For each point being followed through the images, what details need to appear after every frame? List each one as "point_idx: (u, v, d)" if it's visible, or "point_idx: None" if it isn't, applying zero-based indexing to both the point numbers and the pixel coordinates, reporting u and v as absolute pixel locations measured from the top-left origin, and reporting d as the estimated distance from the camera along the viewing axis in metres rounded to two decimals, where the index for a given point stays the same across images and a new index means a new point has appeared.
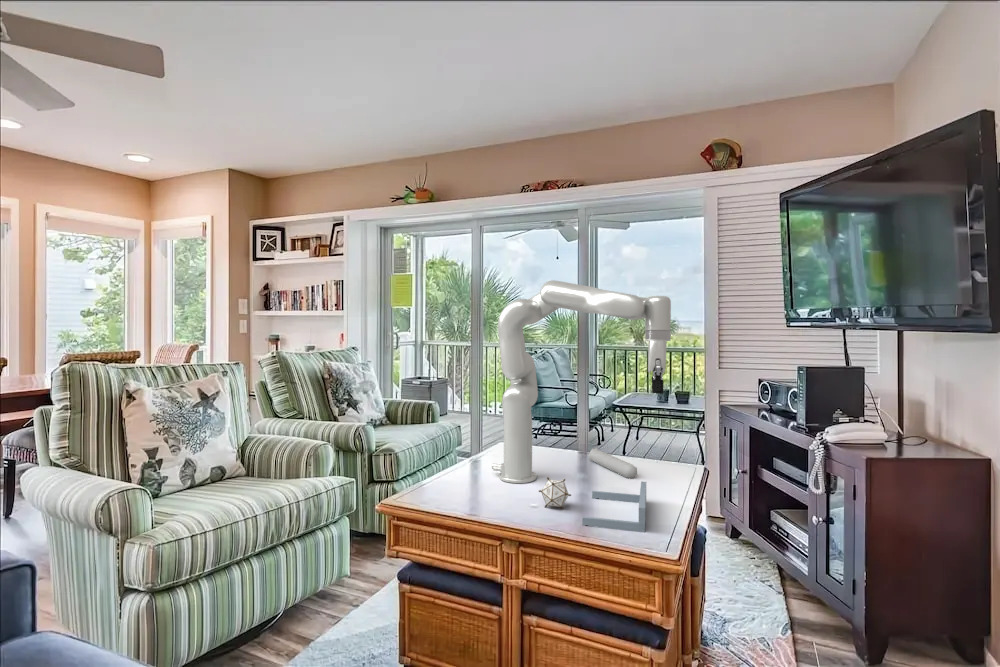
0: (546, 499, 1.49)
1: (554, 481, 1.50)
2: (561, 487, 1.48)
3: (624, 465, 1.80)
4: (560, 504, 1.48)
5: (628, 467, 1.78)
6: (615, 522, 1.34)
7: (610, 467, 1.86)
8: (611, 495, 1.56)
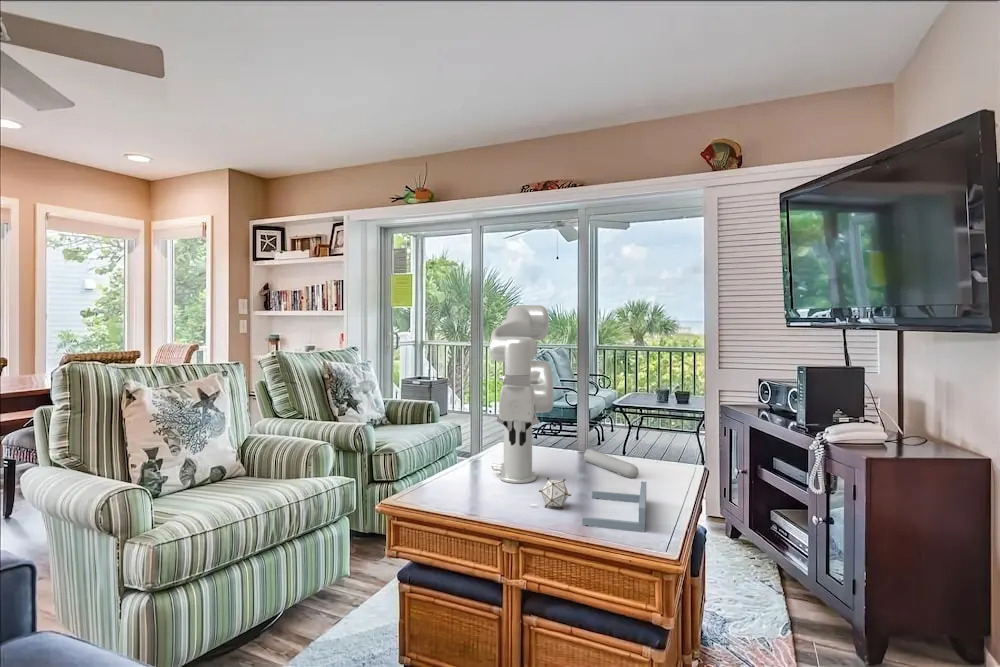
0: (546, 499, 1.49)
1: (554, 481, 1.50)
2: (561, 487, 1.48)
3: (625, 465, 1.80)
4: (560, 504, 1.48)
5: (630, 467, 1.78)
6: (615, 522, 1.34)
7: (609, 467, 1.86)
8: (611, 495, 1.56)
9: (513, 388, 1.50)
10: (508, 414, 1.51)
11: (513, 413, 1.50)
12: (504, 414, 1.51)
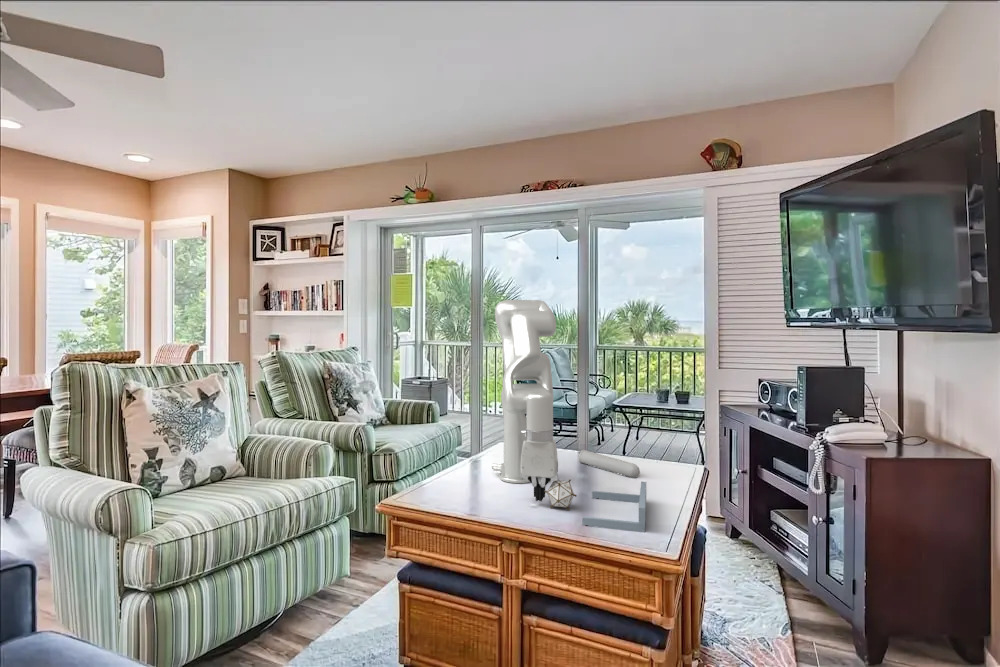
0: (552, 500, 1.48)
1: (560, 481, 1.50)
2: (567, 487, 1.48)
3: (627, 465, 1.80)
4: (566, 504, 1.47)
5: (632, 467, 1.78)
6: (615, 522, 1.34)
7: (609, 468, 1.85)
8: (611, 495, 1.56)
9: (535, 443, 1.49)
10: (530, 470, 1.49)
11: (535, 469, 1.49)
12: (526, 470, 1.49)
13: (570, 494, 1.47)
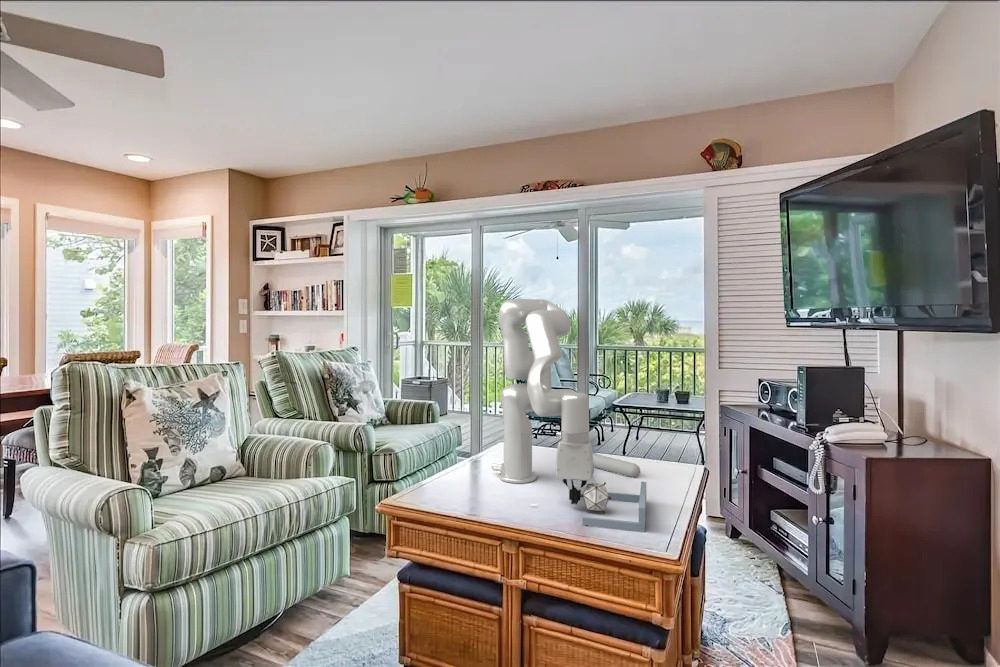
0: (588, 503, 1.45)
1: (595, 485, 1.47)
2: (603, 491, 1.45)
3: (627, 465, 1.80)
4: (602, 508, 1.44)
5: (633, 466, 1.78)
6: (615, 522, 1.34)
7: (608, 468, 1.85)
8: (611, 495, 1.56)
9: (571, 445, 1.46)
10: (566, 472, 1.46)
11: (571, 471, 1.46)
12: (561, 472, 1.46)
13: (607, 497, 1.44)
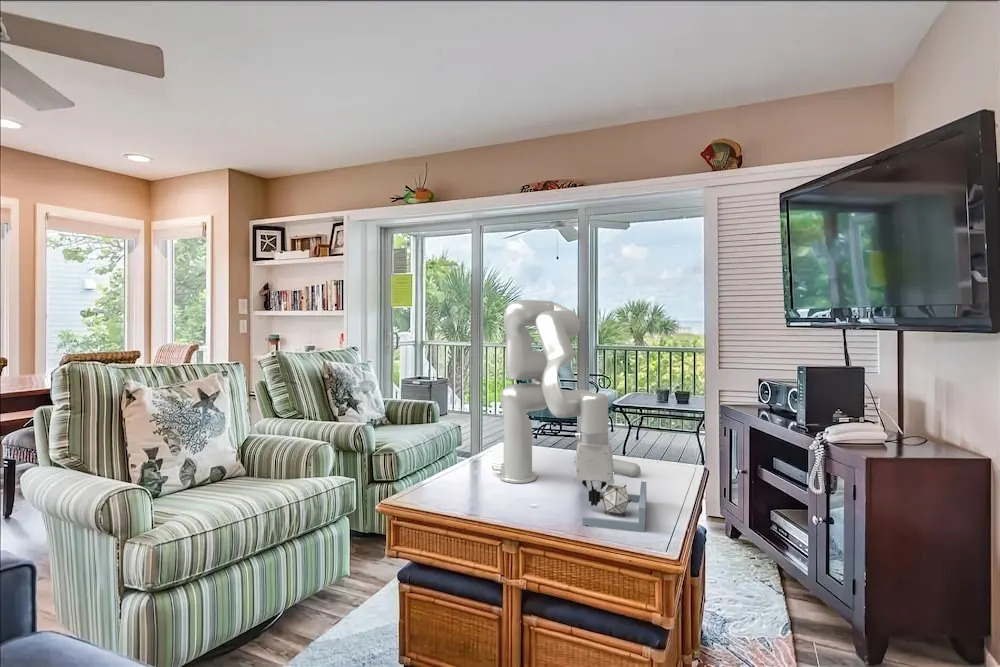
0: (607, 505, 1.43)
1: (615, 487, 1.45)
2: (624, 493, 1.43)
3: (628, 465, 1.80)
4: (622, 511, 1.42)
5: (634, 466, 1.79)
6: (615, 522, 1.34)
7: None
8: None
9: (590, 446, 1.44)
10: (585, 473, 1.44)
11: (591, 473, 1.44)
12: (581, 473, 1.45)
13: (627, 500, 1.42)
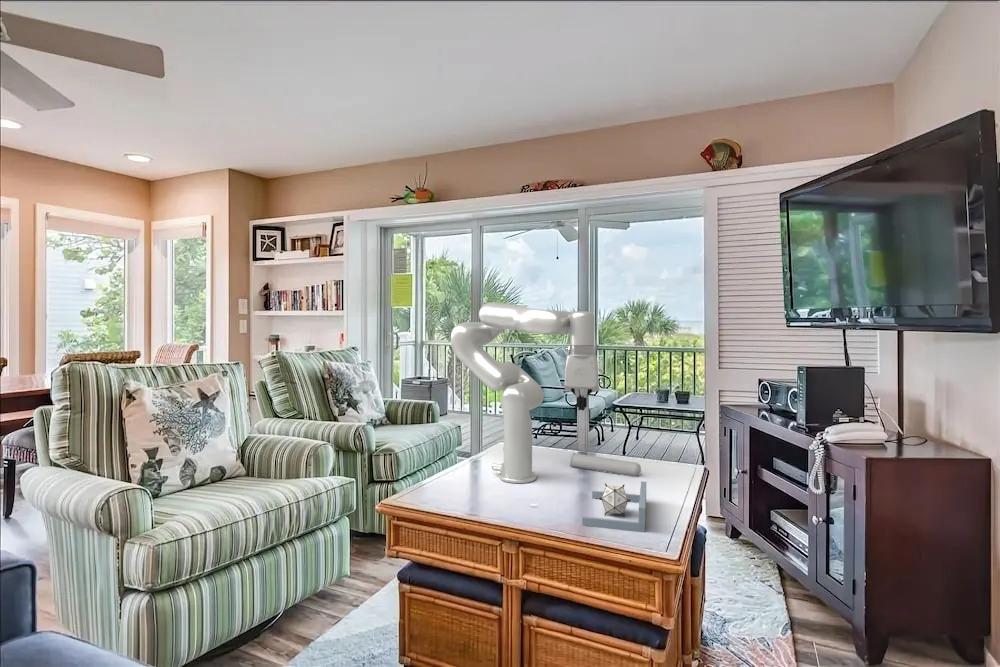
0: (607, 506, 1.43)
1: (614, 487, 1.45)
2: (622, 493, 1.43)
3: (630, 464, 1.81)
4: (622, 511, 1.42)
5: (636, 465, 1.80)
6: (615, 522, 1.34)
7: (608, 469, 1.84)
8: None
9: (578, 357, 1.63)
10: (574, 381, 1.63)
11: (578, 380, 1.63)
12: (570, 381, 1.64)
13: (626, 500, 1.42)
